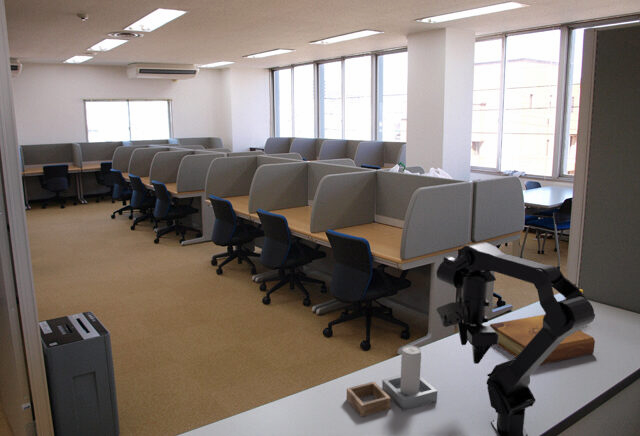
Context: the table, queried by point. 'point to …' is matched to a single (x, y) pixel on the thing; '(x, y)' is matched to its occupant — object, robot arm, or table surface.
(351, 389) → the wooden frame
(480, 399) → the table surface
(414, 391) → the beverage can
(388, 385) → the tray
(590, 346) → the diary
